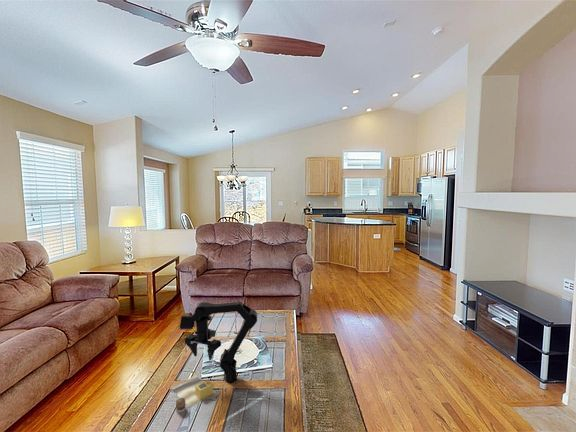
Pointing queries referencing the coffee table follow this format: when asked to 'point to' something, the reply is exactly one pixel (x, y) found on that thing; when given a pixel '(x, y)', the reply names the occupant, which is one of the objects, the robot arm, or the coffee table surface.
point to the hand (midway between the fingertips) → (203, 358)
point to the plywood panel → (189, 391)
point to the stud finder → (204, 389)
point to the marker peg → (180, 405)
